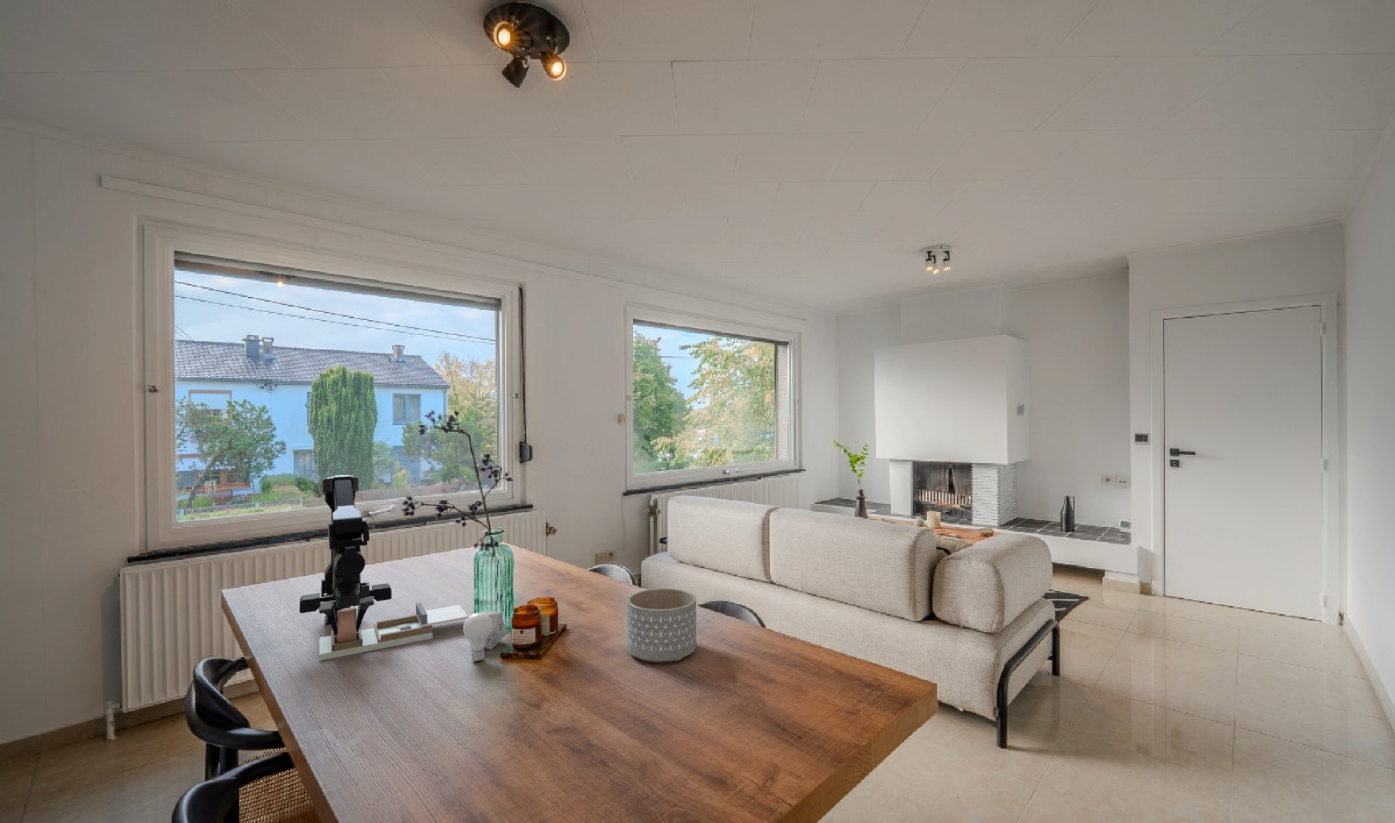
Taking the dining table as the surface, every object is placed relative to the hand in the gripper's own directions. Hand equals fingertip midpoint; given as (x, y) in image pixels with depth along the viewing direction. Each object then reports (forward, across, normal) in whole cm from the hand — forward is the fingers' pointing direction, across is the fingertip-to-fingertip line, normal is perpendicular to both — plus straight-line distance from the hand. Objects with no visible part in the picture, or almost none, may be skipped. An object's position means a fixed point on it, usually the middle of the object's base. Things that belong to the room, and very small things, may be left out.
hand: (346, 633), depth 138 cm
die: (+4, +29, -16) cm, 33 cm away
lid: (+1, +22, +3) cm, 22 cm away
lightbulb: (+4, +25, -24) cm, 35 cm away
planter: (+4, +63, -43) cm, 76 cm away
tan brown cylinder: (+2, 0, 0) cm, 2 cm away
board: (+4, +6, +3) cm, 8 cm away
